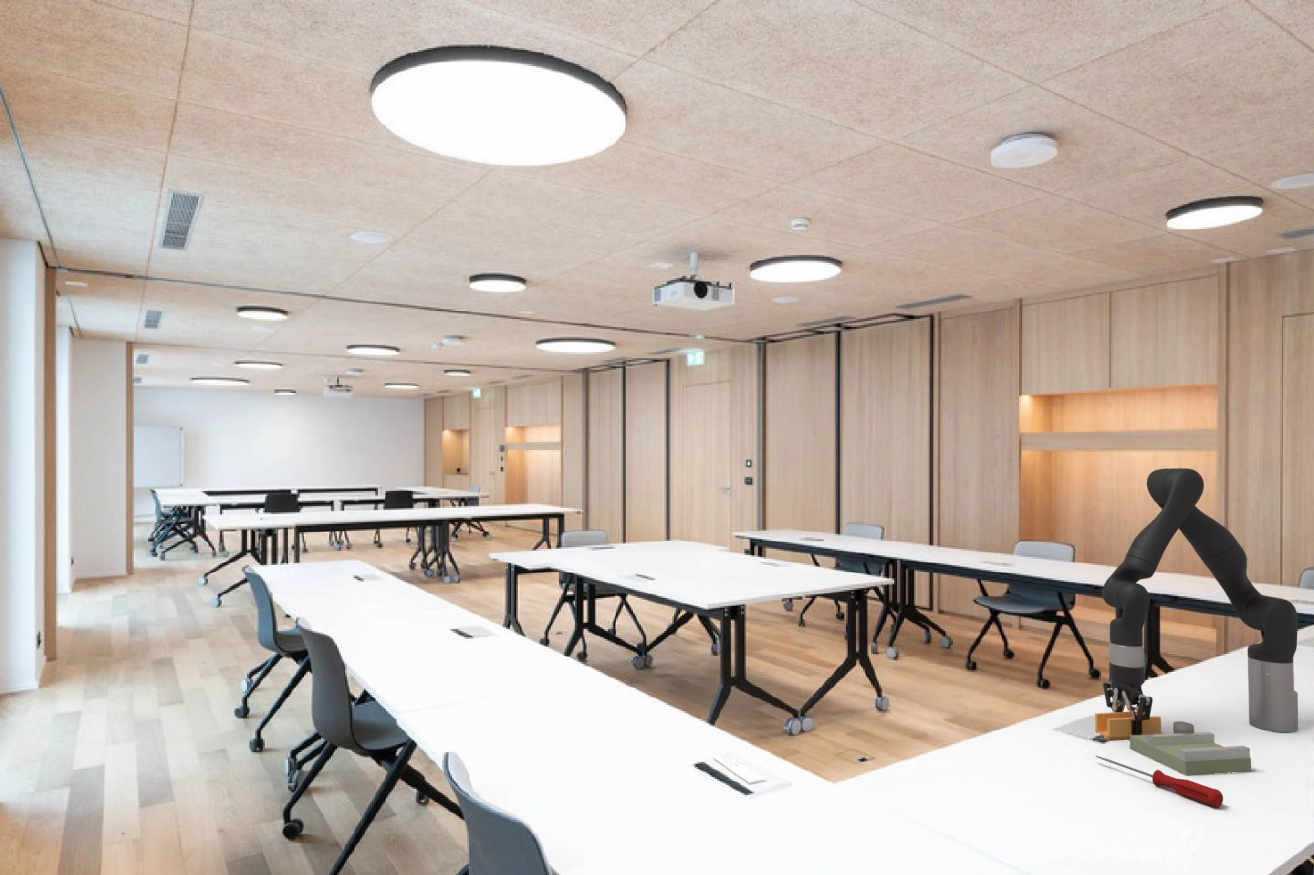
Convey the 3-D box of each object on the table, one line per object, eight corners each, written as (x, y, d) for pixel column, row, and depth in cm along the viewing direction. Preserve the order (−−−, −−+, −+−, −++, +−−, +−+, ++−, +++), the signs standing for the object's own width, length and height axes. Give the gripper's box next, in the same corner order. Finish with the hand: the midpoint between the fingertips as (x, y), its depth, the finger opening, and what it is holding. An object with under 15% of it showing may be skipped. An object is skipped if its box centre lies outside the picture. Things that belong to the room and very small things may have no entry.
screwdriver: (1101, 762, 172) (1100, 746, 172) (1225, 807, 150) (1224, 789, 150) (1091, 765, 170) (1091, 749, 171) (1215, 810, 148) (1214, 792, 148)
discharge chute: (1145, 730, 193) (1144, 710, 193) (1161, 737, 188) (1160, 717, 188) (1095, 733, 191) (1094, 713, 191) (1110, 740, 186) (1109, 719, 186)
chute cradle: (1208, 740, 178) (1208, 731, 178) (1249, 757, 167) (1249, 748, 167) (1147, 743, 175) (1146, 734, 176) (1184, 761, 165) (1184, 751, 165)
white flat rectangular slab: (732, 757, 174) (732, 752, 174) (769, 783, 161) (769, 777, 161) (713, 760, 172) (713, 755, 172) (748, 786, 159) (748, 781, 159)
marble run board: (1190, 745, 183) (1189, 719, 183) (1251, 771, 167) (1250, 744, 167) (1129, 748, 181) (1129, 722, 181) (1186, 775, 165) (1185, 747, 165)
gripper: (1163, 669, 183) (1164, 741, 183) (1118, 654, 198) (1119, 721, 197) (1135, 670, 182) (1136, 742, 182) (1092, 655, 197) (1093, 722, 196)
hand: (1127, 731), depth 189 cm, fingers closed on discharge chute, 5 cm apart
